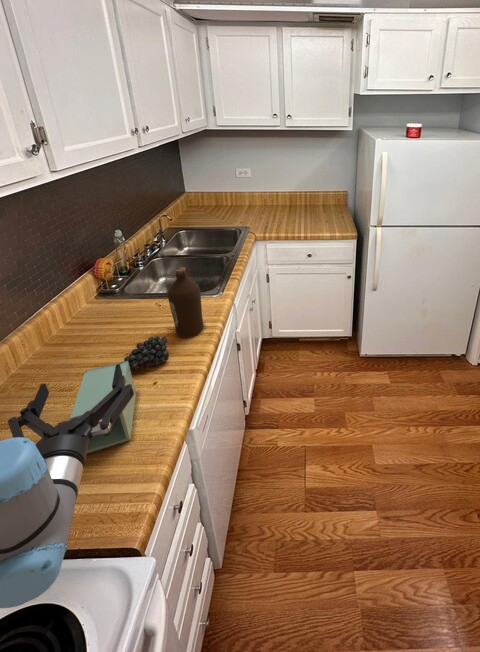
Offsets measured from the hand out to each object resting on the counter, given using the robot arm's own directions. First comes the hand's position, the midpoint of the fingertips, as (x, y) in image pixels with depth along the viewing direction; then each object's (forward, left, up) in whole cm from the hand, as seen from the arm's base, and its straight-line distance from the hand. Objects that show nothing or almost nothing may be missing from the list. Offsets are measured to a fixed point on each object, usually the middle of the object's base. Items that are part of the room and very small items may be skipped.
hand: (83, 378), depth 72 cm
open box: (-7, +3, -16) cm, 18 cm away
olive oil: (-29, +34, -22) cm, 50 cm away
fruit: (-22, +17, -22) cm, 36 cm away
